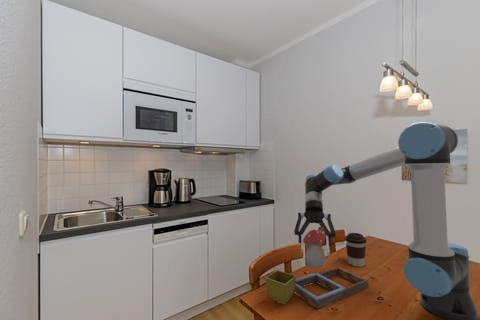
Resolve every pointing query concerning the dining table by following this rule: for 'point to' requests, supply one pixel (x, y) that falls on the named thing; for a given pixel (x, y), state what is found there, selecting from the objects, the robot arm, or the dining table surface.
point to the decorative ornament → (315, 248)
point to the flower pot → (280, 286)
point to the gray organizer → (332, 286)
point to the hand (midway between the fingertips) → (314, 252)
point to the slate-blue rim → (323, 294)
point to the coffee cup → (355, 249)
